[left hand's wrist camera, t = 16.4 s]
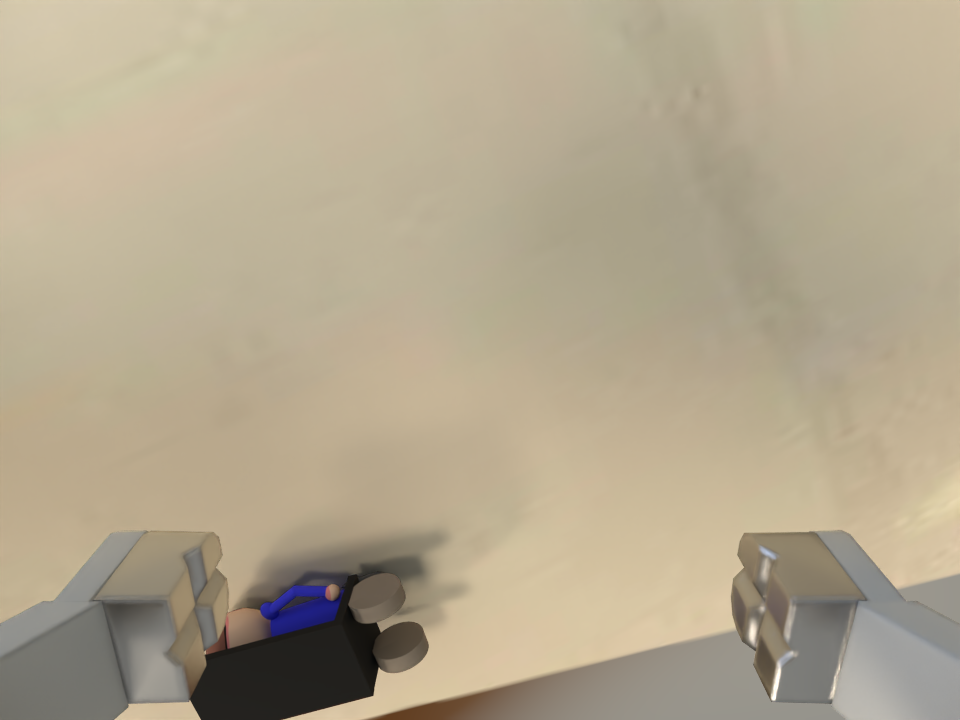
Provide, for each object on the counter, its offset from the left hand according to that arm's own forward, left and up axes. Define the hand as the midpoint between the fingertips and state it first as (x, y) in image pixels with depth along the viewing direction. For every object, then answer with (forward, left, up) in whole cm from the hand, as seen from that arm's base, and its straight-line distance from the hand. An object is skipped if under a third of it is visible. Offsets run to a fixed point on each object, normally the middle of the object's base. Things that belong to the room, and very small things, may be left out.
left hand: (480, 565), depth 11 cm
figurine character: (-28, +12, -31) cm, 43 cm away
